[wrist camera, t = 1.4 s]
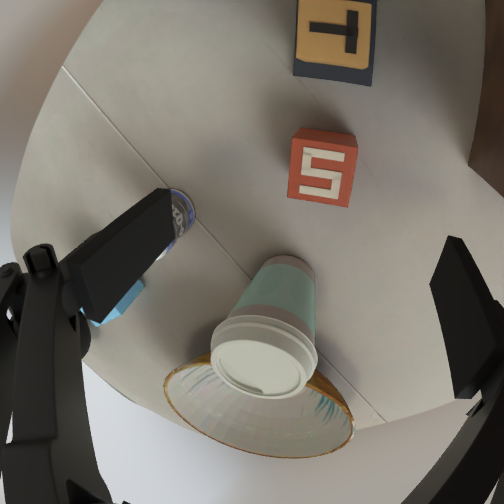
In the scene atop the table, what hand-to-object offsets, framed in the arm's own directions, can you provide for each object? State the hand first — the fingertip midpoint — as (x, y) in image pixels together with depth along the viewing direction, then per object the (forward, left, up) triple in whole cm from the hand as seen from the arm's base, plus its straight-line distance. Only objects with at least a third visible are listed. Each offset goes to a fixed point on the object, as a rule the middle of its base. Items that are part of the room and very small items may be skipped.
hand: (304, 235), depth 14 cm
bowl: (+30, -2, -13) cm, 33 cm away
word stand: (-12, +16, -13) cm, 24 cm away
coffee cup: (+13, -2, -13) cm, 19 cm away
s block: (0, 0, -13) cm, 13 cm away
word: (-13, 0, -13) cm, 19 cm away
